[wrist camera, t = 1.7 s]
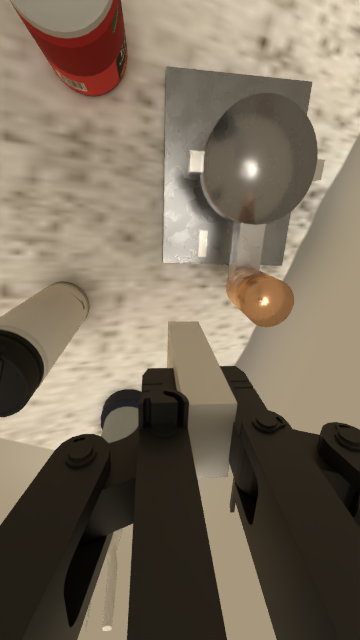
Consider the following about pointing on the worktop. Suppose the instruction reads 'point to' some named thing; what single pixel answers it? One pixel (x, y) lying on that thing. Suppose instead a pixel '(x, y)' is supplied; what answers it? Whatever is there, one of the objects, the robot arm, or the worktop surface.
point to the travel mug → (36, 341)
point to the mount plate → (191, 134)
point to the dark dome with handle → (257, 190)
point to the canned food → (79, 40)
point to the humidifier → (115, 425)
